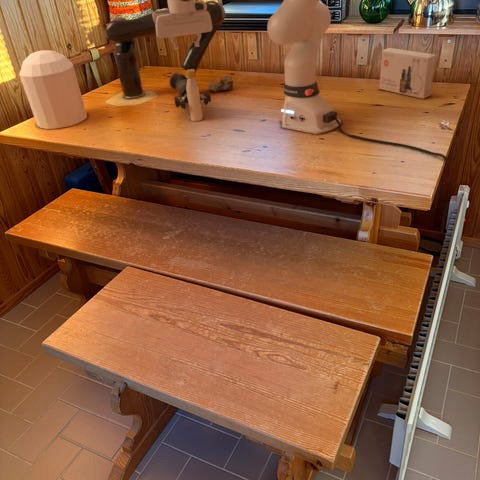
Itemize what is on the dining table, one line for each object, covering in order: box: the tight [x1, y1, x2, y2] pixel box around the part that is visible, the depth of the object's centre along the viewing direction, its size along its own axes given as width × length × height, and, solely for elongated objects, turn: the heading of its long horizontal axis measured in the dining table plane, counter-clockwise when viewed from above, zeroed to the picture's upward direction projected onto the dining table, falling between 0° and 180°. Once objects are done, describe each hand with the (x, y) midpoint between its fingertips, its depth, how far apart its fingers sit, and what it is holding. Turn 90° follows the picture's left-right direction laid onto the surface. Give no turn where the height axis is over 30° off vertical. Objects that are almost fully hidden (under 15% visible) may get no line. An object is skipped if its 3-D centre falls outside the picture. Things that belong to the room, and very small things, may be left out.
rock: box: [207, 74, 234, 93], centre depth 212 cm, size 11×6×10 cm
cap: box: [184, 69, 197, 78], centre depth 174 cm, size 4×4×2 cm
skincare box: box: [378, 47, 437, 100], centre depth 184 cm, size 21×6×16 cm, turn 40°
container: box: [19, 49, 88, 130], centre depth 189 cm, size 21×21×28 cm
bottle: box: [186, 77, 204, 122], centre depth 179 cm, size 5×5×18 cm
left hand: (195, 104), depth 179 cm, fingers open, 8 cm apart
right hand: (186, 48), depth 169 cm, fingers open, 6 cm apart
